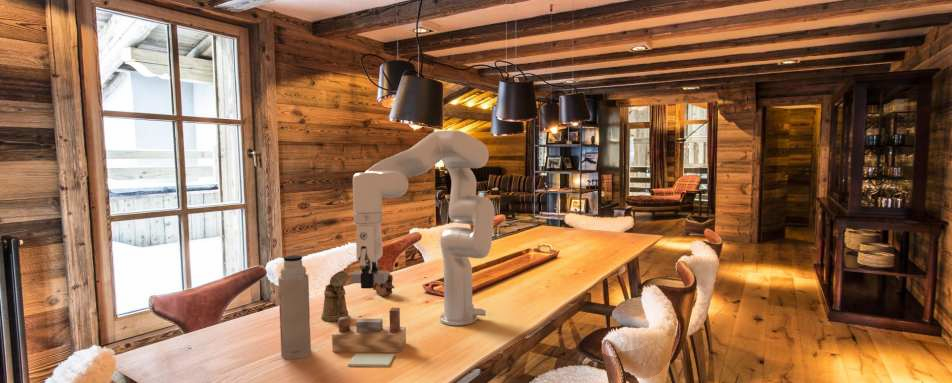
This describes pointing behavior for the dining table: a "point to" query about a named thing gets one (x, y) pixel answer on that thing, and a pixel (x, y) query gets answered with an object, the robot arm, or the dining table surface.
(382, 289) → the wooden carving
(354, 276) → the lever cap
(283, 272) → the thermos bottle
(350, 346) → the body
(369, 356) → the felt mat
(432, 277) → the dining table surface
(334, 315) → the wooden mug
